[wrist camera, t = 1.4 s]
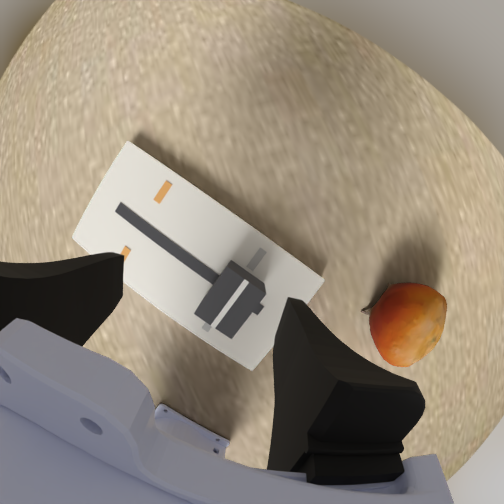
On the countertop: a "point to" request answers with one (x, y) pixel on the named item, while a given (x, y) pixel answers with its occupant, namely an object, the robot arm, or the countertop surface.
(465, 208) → the countertop surface
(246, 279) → the fader knob
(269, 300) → the fader console
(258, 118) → the countertop surface
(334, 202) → the countertop surface
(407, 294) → the fruit
